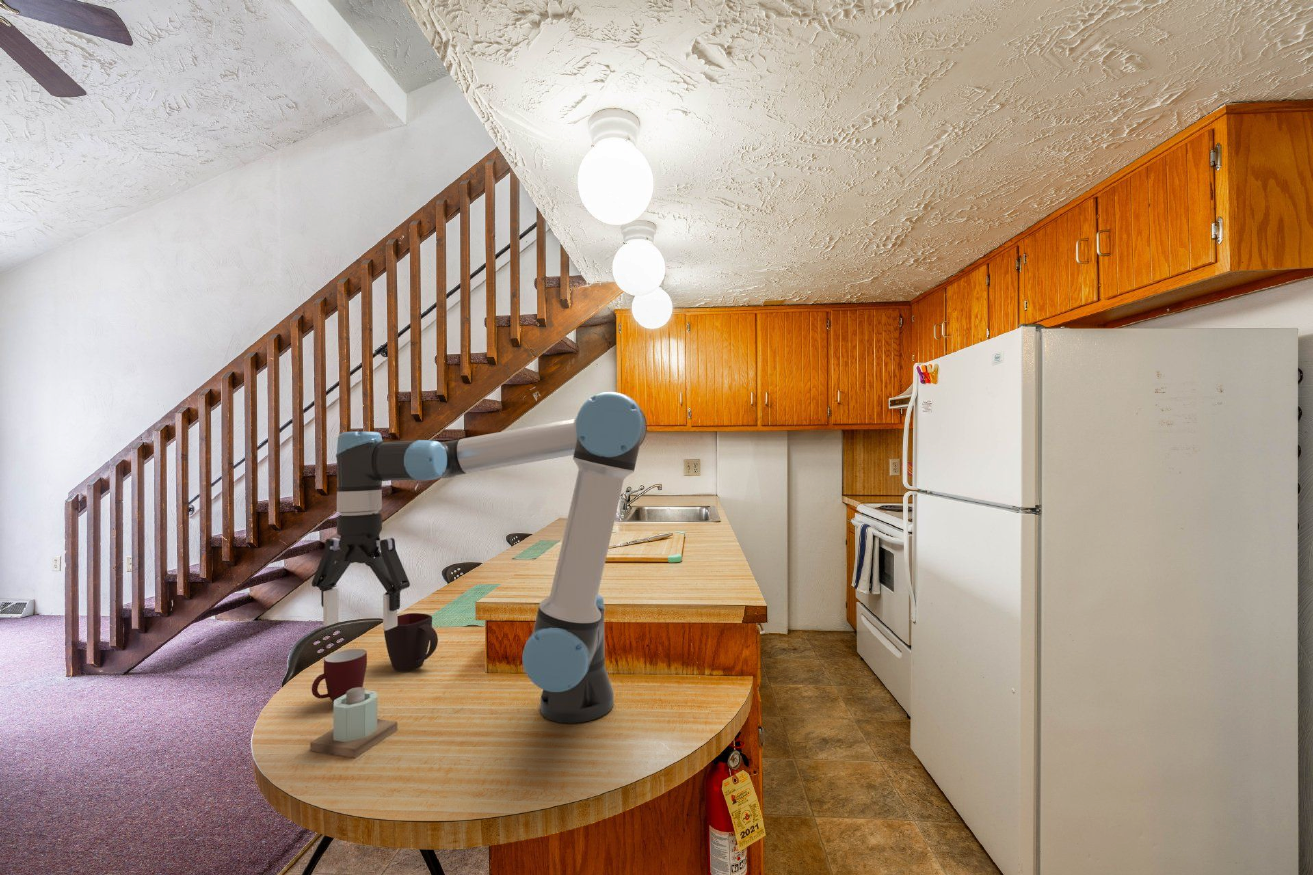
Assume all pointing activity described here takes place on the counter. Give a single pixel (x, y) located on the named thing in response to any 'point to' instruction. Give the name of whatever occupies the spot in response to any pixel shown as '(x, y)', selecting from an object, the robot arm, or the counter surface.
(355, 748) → the post stand
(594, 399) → the robot arm
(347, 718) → the ring
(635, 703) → the counter surface
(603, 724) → the counter surface
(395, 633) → the mug
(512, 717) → the counter surface
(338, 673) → the mug
